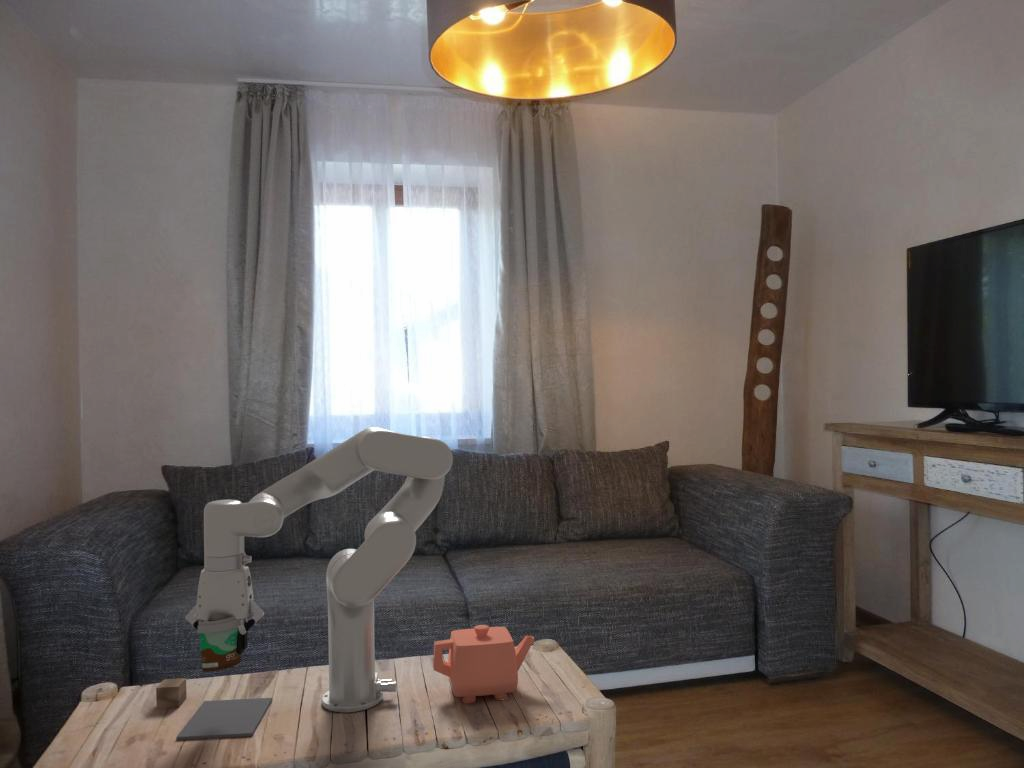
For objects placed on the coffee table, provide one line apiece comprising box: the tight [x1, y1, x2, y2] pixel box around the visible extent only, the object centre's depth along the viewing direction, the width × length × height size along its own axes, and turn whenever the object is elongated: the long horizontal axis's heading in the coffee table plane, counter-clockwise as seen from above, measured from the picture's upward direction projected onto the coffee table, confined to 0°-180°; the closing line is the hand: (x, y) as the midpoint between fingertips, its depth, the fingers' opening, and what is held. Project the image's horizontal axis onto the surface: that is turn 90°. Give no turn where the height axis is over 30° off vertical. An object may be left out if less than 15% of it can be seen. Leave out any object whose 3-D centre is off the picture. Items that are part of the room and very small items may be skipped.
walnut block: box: [155, 677, 187, 710], centre depth 157 cm, size 4×4×4 cm
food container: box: [196, 616, 246, 673], centre depth 149 cm, size 12×6×10 cm, turn 171°
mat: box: [176, 697, 273, 741], centre depth 149 cm, size 14×16×1 cm
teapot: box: [432, 624, 535, 704], centre depth 161 cm, size 22×13×14 cm, turn 100°
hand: (225, 652), depth 149 cm, fingers closed on food container, 5 cm apart
